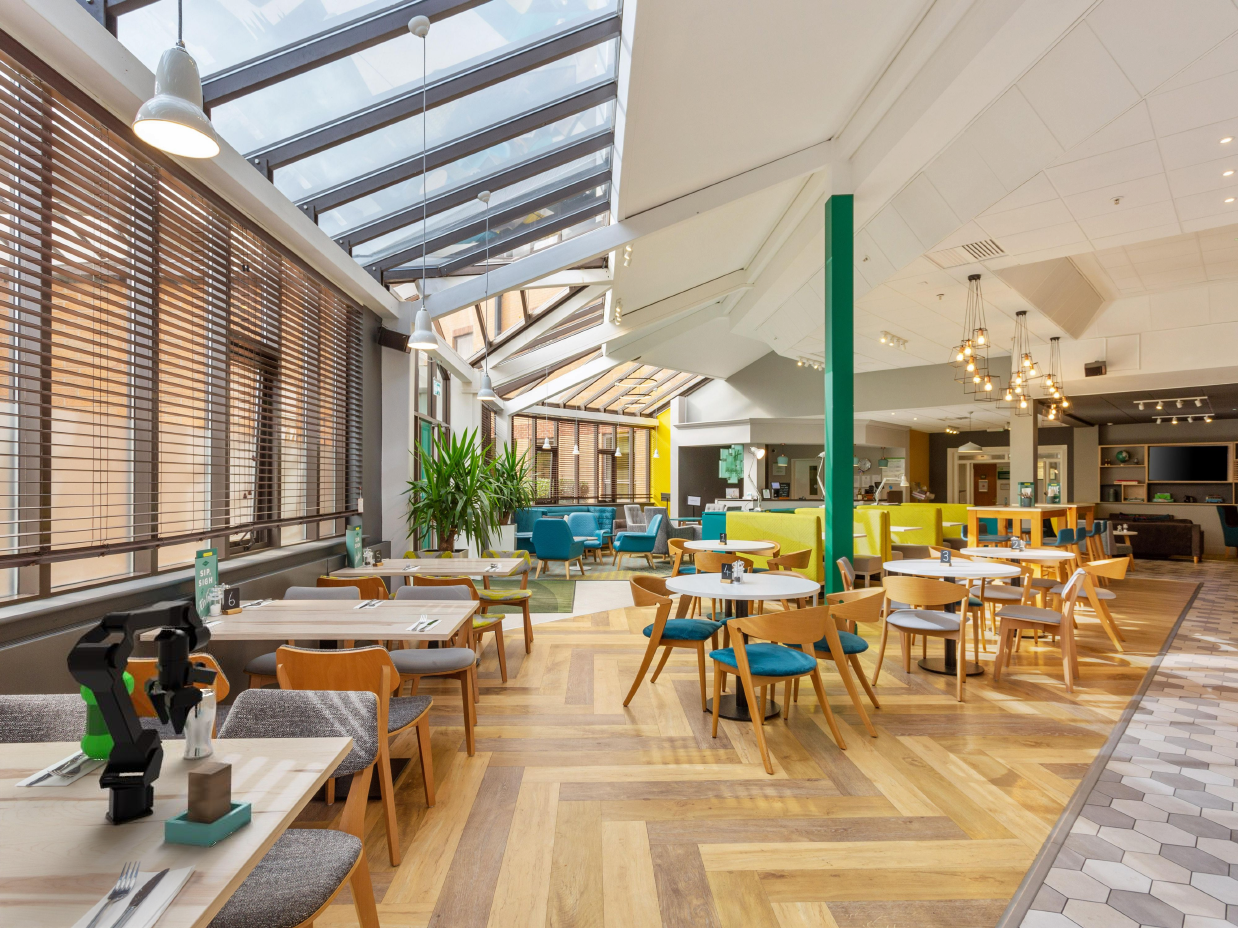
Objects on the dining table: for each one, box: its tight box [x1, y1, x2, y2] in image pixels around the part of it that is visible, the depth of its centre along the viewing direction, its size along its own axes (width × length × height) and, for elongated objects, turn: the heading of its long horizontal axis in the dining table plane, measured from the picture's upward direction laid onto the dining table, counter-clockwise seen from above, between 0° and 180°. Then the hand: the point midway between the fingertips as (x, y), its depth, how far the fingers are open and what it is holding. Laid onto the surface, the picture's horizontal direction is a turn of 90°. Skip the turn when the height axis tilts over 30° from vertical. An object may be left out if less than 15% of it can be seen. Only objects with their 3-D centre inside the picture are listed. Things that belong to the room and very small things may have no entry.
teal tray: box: [163, 799, 252, 847], centre depth 129 cm, size 10×10×4 cm
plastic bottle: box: [79, 670, 135, 760], centre depth 165 cm, size 10×10×25 cm
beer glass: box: [183, 688, 217, 760], centre depth 166 cm, size 7×7×15 cm
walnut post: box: [187, 761, 233, 824], centre depth 129 cm, size 5×5×11 cm
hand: (171, 729), depth 150 cm, fingers open, 9 cm apart
